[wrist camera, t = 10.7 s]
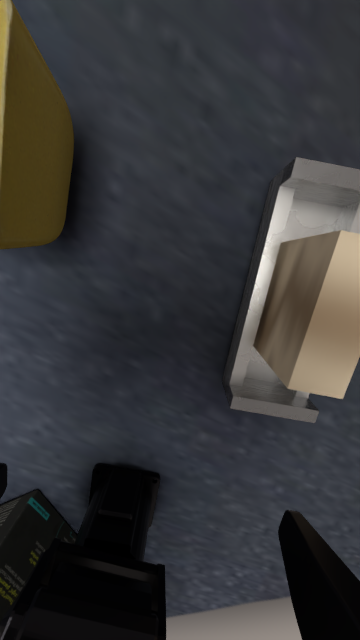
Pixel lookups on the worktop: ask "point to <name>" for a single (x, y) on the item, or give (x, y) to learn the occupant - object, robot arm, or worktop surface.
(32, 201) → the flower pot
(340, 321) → the door panel
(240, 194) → the worktop surface
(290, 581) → the robot arm
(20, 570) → the tampon box
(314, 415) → the bottom track
